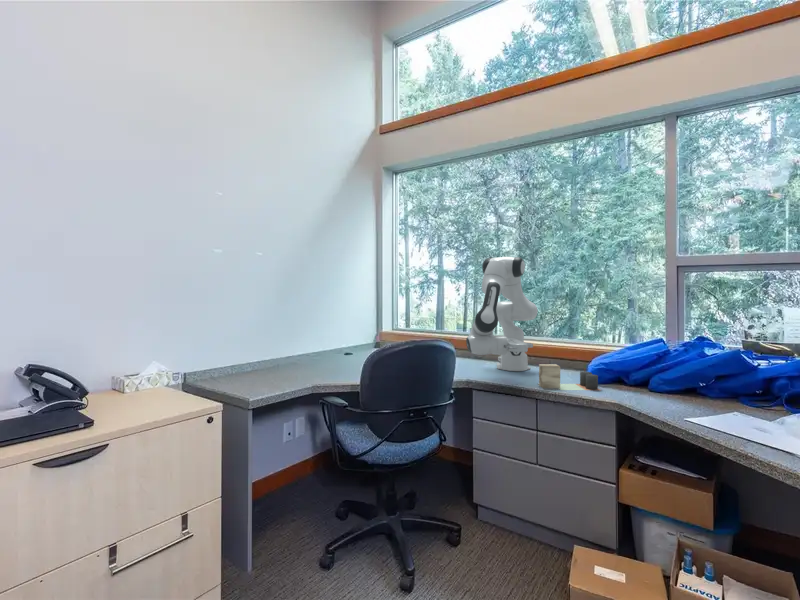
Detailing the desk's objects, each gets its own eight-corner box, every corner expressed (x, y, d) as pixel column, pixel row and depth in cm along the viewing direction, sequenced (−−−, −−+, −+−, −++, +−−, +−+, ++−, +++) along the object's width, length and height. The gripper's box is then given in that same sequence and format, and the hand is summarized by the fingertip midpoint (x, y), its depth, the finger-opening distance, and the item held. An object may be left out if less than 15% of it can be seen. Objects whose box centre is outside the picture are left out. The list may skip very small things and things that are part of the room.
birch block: (539, 385, 188) (539, 364, 187) (556, 385, 187) (556, 364, 187) (542, 388, 183) (542, 366, 182) (560, 388, 182) (560, 366, 182)
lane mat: (536, 384, 191) (536, 383, 191) (589, 385, 190) (589, 383, 190) (545, 391, 179) (545, 390, 179) (601, 391, 178) (601, 390, 178)
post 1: (578, 384, 190) (578, 371, 190) (588, 384, 190) (589, 371, 190) (582, 386, 185) (582, 373, 185) (593, 386, 185) (593, 373, 185)
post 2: (583, 387, 184) (583, 374, 184) (594, 387, 184) (594, 374, 184) (588, 389, 179) (588, 376, 179) (599, 389, 179) (600, 376, 179)
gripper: (507, 341, 175) (539, 341, 174) (497, 335, 195) (525, 335, 195) (507, 355, 175) (539, 355, 174) (497, 348, 195) (525, 348, 195)
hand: (532, 345), depth 185 cm, fingers closed
